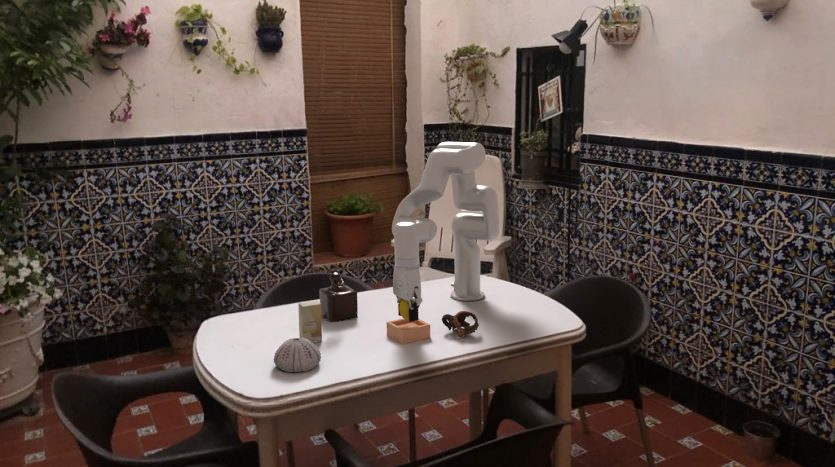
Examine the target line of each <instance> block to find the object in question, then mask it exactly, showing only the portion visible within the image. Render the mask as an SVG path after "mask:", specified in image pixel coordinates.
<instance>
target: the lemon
mask: <svg viewBox="0 0 835 467" xmlns="http://www.w3.org/2000/svg"><path fill="white" fill-rule="evenodd" d="M414 302H415V301H412V304H413V303H414ZM409 309H410V306H409V301H406V300H404V299H402V300H401V302H400V305H399V312H400V315H401V316H400V317H402V318H404V319H406V320H407V321H409Z"/></svg>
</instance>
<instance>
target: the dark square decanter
mask: <svg viewBox="0 0 835 467" xmlns="http://www.w3.org/2000/svg"><path fill="white" fill-rule="evenodd" d="M329 281H331V284H330V286H329V285H327V286H328V287H324V288H319V289H318V290H319V291H318V292H319V293H318V294H319V303H321V315H322V316H321V318H323V319H324V320H326V321H328V322H330V323H335V322H341V321H342V322H344V321H348V320H353V319H357V318H358V308H359V306H358V292H357V291H356V290H354V289H353V288H352V287H351V286H349V285H347V284H345V281H344V279H343V278H342V275H341V273H340V270H339V269H336V270H335V272H332V273H330V275H329Z"/></svg>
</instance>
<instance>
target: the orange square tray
mask: <svg viewBox="0 0 835 467" xmlns="http://www.w3.org/2000/svg"><path fill="white" fill-rule="evenodd" d="M386 335H387V336H389V337H390V338H392V339H393V340H395V341H397V342H399V344H400V343H401V344H402V345H404V344H410V343H412V342H417V341H421V340H425V339H428V338H431V324H430V323H428V322H426V321H424V320H422V319H420V318H419V319H418V320H416V321H412V322H410V321H407V320H406V319H404V318H403V317H402V318H399V319H395V320H389V321H386Z"/></svg>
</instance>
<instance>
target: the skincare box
mask: <svg viewBox="0 0 835 467" xmlns="http://www.w3.org/2000/svg"><path fill="white" fill-rule="evenodd" d="M297 304H298V305H297V306H298V332H299V334H298V335H299V336H298V338H302V337H303V338H306V339H308V340H310V341H311V342H313V343H316V342H317V343H318V342H323V330H322V328H323V327H322V326H323V324H322V323H323V322H322V321H323V320H322V316H321V303H320V301H318V300H311V301H305V302H304V301H303V302H298V303H297Z"/></svg>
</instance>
